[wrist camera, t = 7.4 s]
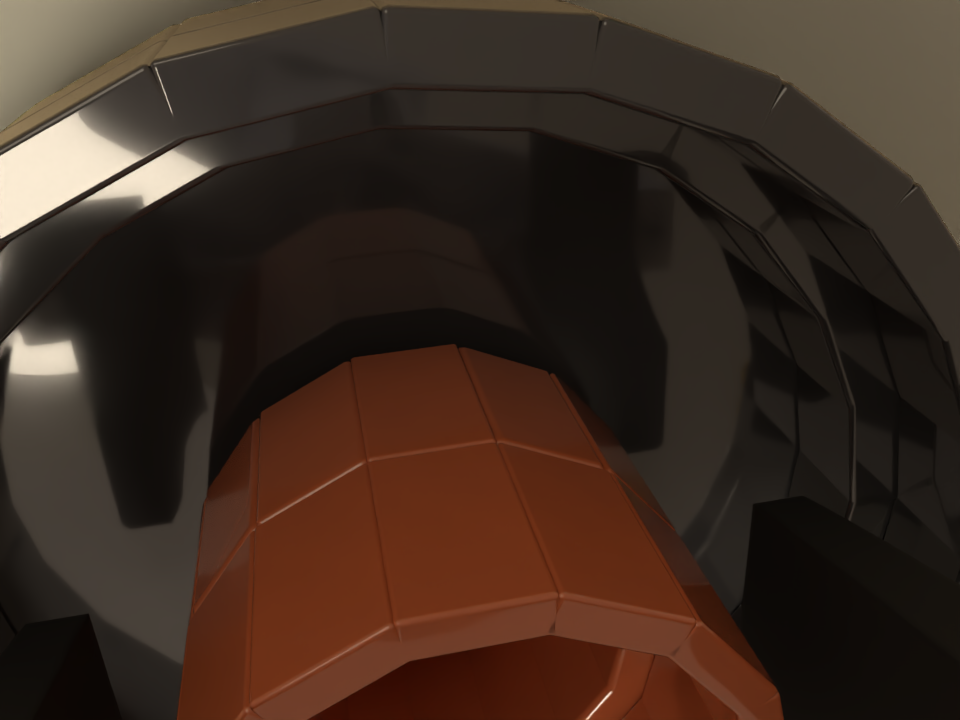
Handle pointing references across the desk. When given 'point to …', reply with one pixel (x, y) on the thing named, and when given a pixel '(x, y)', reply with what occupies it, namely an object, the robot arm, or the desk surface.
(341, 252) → the pan
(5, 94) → the desk surface
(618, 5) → the desk surface
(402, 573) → the terracotta cup
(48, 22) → the desk surface
